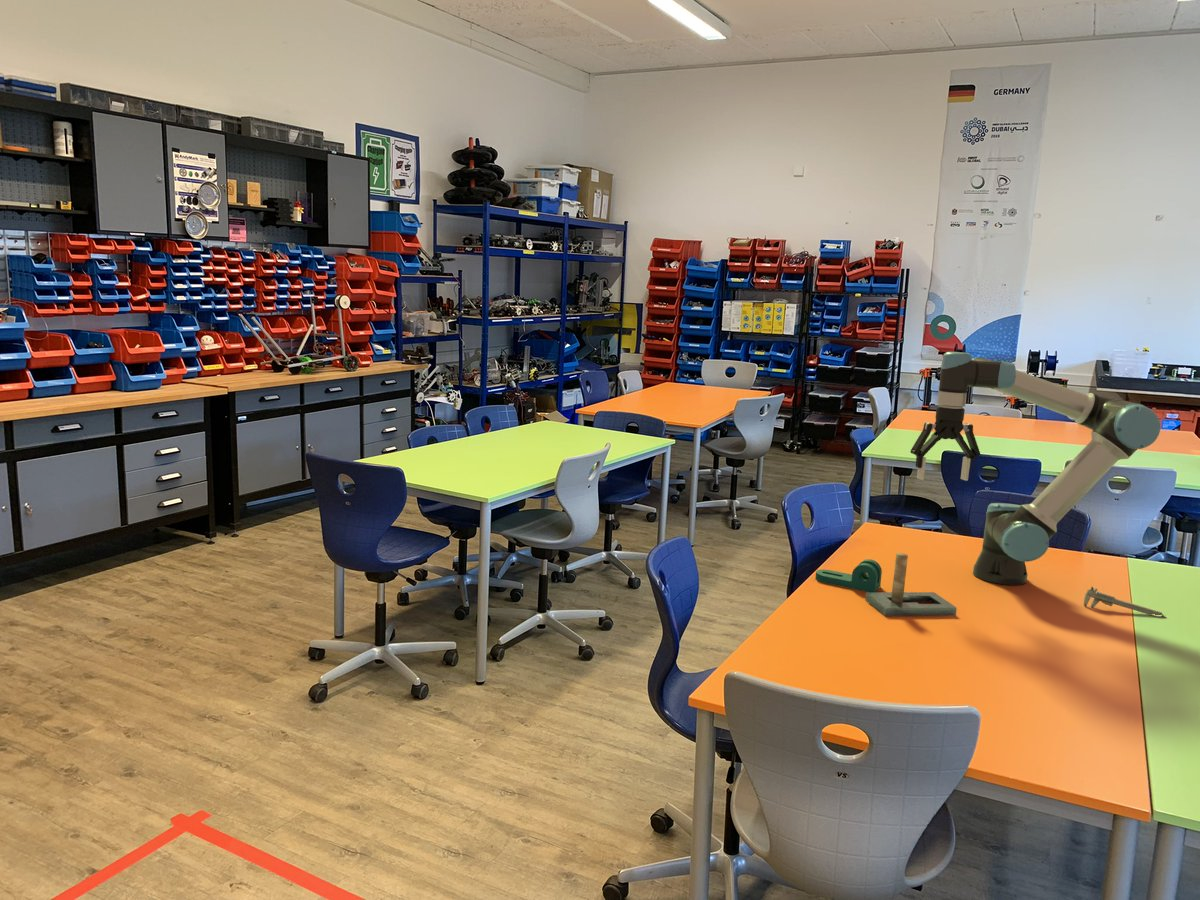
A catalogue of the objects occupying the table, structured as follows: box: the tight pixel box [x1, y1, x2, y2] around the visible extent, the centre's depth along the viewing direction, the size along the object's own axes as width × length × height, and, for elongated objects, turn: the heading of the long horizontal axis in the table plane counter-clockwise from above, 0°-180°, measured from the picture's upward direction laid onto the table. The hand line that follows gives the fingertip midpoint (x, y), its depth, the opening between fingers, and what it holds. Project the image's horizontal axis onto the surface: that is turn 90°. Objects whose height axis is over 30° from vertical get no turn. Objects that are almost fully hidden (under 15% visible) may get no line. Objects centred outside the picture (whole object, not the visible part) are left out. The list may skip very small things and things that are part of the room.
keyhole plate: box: [865, 591, 957, 617], centre depth 238 cm, size 20×12×2 cm, turn 98°
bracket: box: [815, 558, 883, 592], centre depth 255 cm, size 18×7×8 cm, turn 59°
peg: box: [891, 552, 909, 603], centre depth 236 cm, size 5×5×15 cm
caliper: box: [1083, 586, 1165, 616], centre depth 243 cm, size 20×1×6 cm, turn 73°
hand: (942, 479), depth 253 cm, fingers open, 13 cm apart
